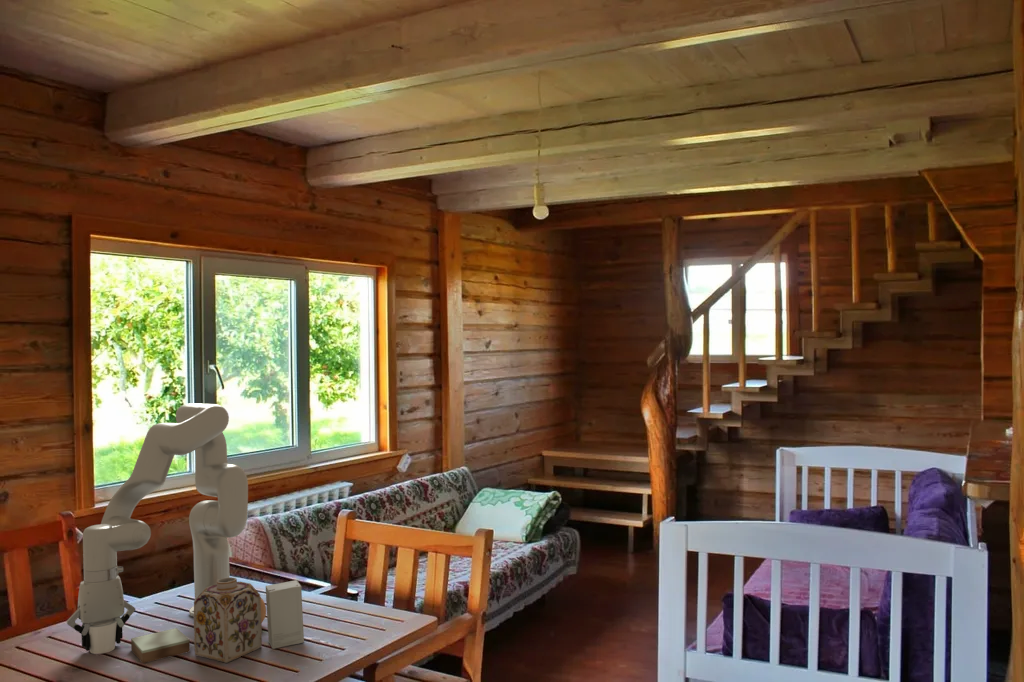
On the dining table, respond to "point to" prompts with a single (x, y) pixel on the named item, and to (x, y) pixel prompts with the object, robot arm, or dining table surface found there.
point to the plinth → (160, 645)
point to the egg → (263, 610)
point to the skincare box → (284, 614)
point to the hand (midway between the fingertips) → (102, 645)
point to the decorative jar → (227, 620)
